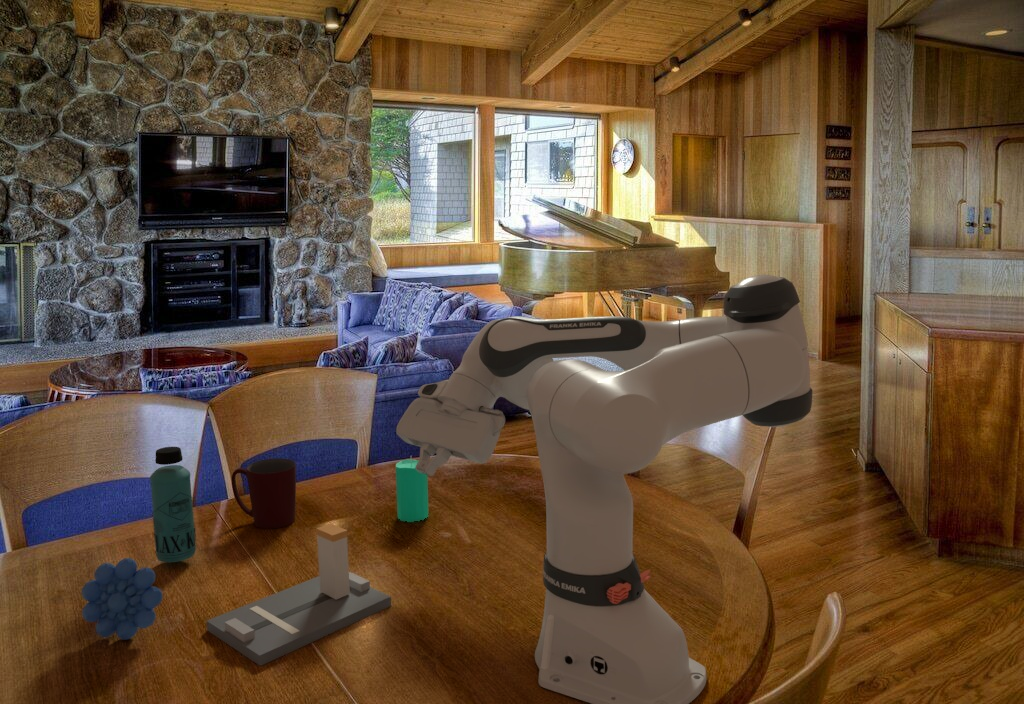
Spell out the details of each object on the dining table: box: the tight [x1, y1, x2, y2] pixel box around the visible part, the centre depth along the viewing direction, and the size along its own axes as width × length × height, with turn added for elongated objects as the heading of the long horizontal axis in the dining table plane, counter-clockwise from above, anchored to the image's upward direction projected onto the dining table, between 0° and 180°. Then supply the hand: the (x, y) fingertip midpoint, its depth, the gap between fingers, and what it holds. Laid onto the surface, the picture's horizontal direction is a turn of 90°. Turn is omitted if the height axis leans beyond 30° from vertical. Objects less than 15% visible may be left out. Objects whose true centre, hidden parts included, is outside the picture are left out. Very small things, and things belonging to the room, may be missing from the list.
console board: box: [206, 571, 392, 667], centre depth 124 cm, size 14×22×3 cm, turn 138°
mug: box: [231, 457, 297, 530], centre depth 160 cm, size 12×9×11 cm
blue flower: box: [80, 557, 164, 641], centre depth 119 cm, size 12×7×12 cm, turn 86°
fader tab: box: [315, 523, 350, 600], centre depth 127 cm, size 4×3×10 cm, turn 48°
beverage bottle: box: [149, 446, 197, 563], centre depth 142 cm, size 6×7×20 cm
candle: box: [395, 456, 430, 523], centre depth 162 cm, size 6×6×12 cm
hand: (423, 472), depth 139 cm, fingers closed
